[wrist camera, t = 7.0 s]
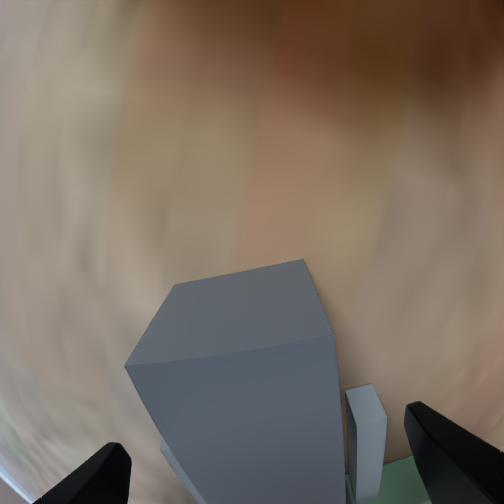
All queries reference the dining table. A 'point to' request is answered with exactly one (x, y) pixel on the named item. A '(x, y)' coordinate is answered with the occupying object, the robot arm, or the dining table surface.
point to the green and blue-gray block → (359, 458)
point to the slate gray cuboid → (247, 387)
